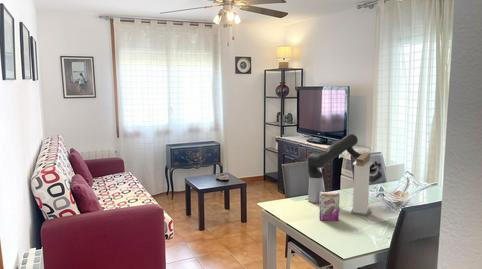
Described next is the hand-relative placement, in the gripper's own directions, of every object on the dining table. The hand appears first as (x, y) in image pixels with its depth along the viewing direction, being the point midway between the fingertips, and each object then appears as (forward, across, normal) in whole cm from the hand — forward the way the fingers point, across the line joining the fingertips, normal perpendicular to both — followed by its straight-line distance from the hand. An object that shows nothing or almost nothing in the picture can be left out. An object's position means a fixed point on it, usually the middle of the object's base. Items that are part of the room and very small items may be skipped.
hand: (368, 161), depth 243 cm
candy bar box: (+22, -15, +46) cm, 53 cm away
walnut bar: (+19, 0, +6) cm, 20 cm away
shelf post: (+4, 0, +35) cm, 35 cm away
